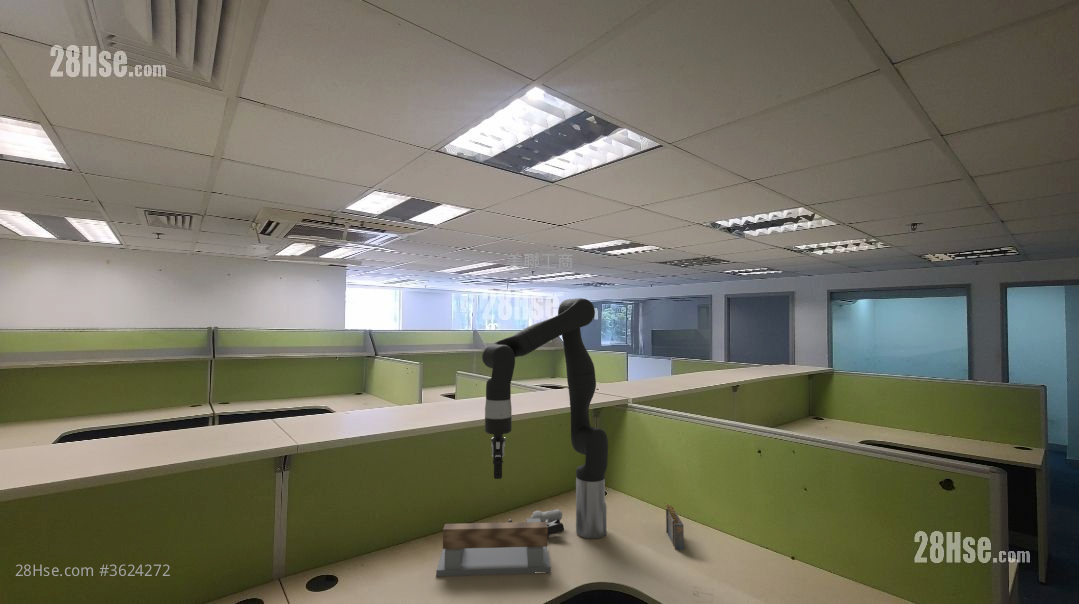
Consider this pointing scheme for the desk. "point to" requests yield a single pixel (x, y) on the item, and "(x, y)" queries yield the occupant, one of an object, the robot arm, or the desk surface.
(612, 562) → the desk surface
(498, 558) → the notch rack
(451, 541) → the wooden plank
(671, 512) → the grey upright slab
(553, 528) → the clip-on lamp
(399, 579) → the desk surface
